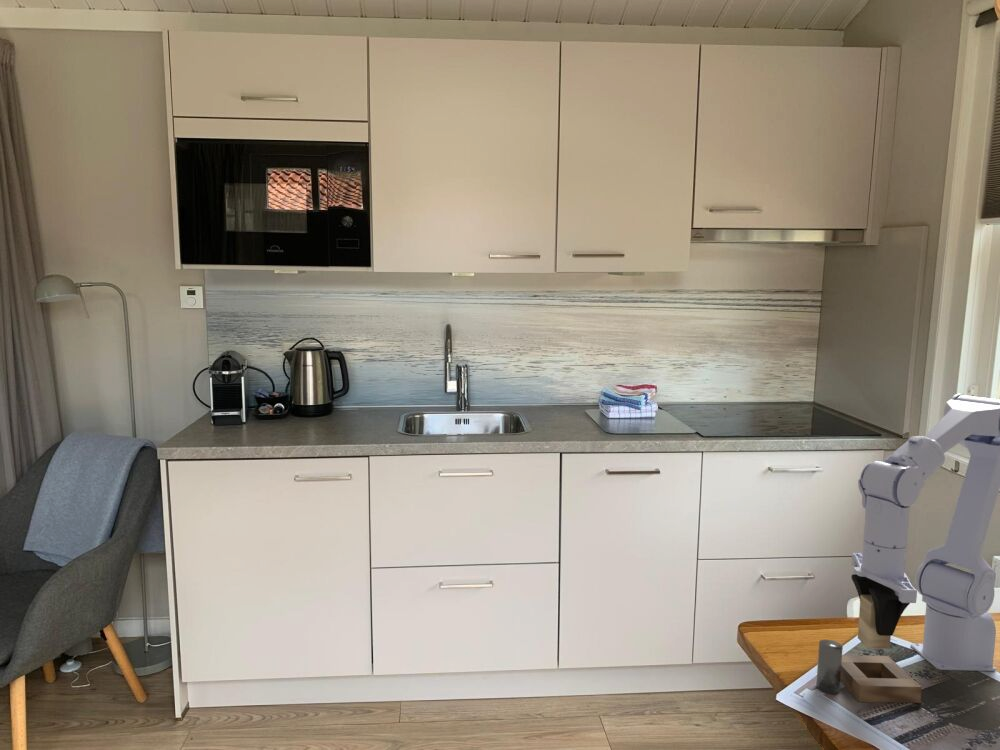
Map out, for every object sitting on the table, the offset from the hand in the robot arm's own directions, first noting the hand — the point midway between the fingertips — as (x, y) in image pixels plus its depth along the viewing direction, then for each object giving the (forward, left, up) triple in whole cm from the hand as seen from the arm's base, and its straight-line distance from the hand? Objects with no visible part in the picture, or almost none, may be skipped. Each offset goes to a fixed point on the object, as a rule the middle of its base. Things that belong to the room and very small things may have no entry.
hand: (878, 628), depth 106 cm
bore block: (0, 0, -9) cm, 9 cm away
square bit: (0, 0, -2) cm, 2 cm away
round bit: (+7, +1, -9) cm, 12 cm away
